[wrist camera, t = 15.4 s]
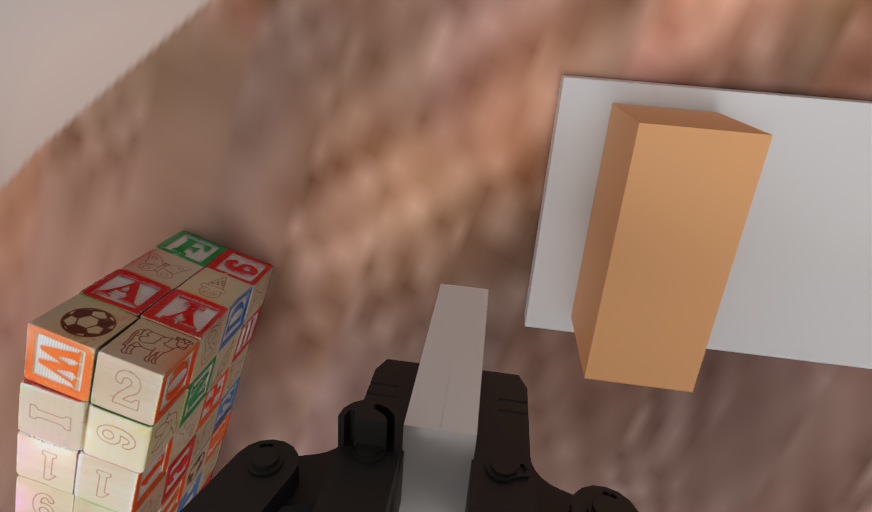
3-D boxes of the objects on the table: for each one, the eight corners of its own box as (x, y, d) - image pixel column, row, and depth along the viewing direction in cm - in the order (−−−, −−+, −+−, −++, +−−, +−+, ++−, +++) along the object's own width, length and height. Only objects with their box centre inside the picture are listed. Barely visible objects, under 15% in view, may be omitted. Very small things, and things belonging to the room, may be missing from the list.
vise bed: (1054, 378, 31) (1209, 478, 24) (524, 313, 34) (528, 388, 27) (1208, 129, 26) (1464, 168, 19) (561, 74, 28) (578, 90, 21)
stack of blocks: (210, 492, 43) (105, 657, 32) (134, 463, 43) (2, 619, 32) (275, 263, 35) (162, 378, 23) (181, 226, 34) (21, 324, 23)
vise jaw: (659, 327, 31) (692, 392, 26) (571, 317, 32) (584, 378, 26) (717, 112, 26) (772, 135, 21) (612, 102, 27) (639, 123, 21)
